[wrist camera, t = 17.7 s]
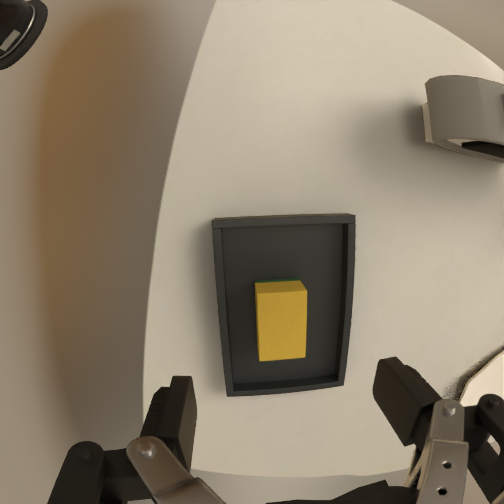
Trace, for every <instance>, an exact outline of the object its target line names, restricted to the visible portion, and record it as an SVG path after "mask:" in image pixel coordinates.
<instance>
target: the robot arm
mask: <svg viewBox="0 0 504 504" xmlns="http://www.w3.org/2000/svg"><path fill="white" fill-rule="evenodd" d="M36 17H37V10H36V8H35V7H33V6H32V5H31V4H28V3H27V2H26V1H25V0H0V60H2V59H4V58H6V57H8V56H9V55H10V54H12V53H13V52H14V51H15V50H16V49H17V48H18V47H19V46H20V45H21V44H22V43H23V41H24V40H25V39H26V37H27V36H28V34H29V33H30V31H31V29H32V28H33V25H34V23H35V20H36ZM373 396H374V399H375V401H376V402H377V404H378V405H379V407H380V409H381V410H382V412H383V413H384V415H385V416H386V418H387V420H388V421H389V423H390V424H391V426H392V428H393V429H394V431H395V432H396V434H397V435H398V437H399V439H400V440H401V442H402V443H403V445H404V447H405V446H408V445H411V444H415V445H416V448H415V450H414V453H413V457H412V460H411V464H410V467H409V471H408V474H407V477H406V481H405V483H404V486H388V484H387V482H386V480H383V481H379V482H376V483H372V484H369V485H366V486H362V487H358V488H357V489H354V490H352V491H350V492H348V493H346V494H344V495H342V496H339V497H337V498H335V499H332V500H291V501H282V502H272V503H266V504H462V502H463V496H464V489H465V482H466V473H467V468H468V469H469V471H470V472H471V474H472V475H473V477H474V479H475V480H476V482H477V484H478V485H479V487H480V488H481V490H482V492H483V493H484V495H485V496H486V498H487V500H488V501H489V503H490V504H504V400H503V399H502V398H501V397H500V396H498V395H495V394H485V395H483V396H481V397H480V399H479V401H478V403H477V405H473V406H465V407H463V406H462V404H461V403H460V402H458V401H456V400H453V399H442V398H441V397H440V396H439V394H438V393H437V392H436V391H435V390H434V389H433V388H432V387H431V386H430V385H429V384H428V382H427V383H426V380H425V379H424V378H423V377H421V375H420V374H419V373H418V372H417V371H416V370H415V369H413V368H412V367H410V366H408V365H404V364H403V363H402V362H401V361H400V360H399V359H398V358H397V357H390V358H385V359H381V360H379V362H378V365H377V370H376V375H375V379H374V384H373ZM196 420H197V405H196V399H195V393H194V387H193V381H192V377H191V376H173V377H172V381H171V384H170V387H161V388H160V389H159V390H158V391H157V392H156V393H155V394H154V395H153V398H152V401H151V404H150V407H149V411H148V413H147V416H146V419H145V422H144V425H143V428H142V431H141V434H140V437H139V438H136V439H134V440H132V441H131V442H130V443H129V444H128V446H127V448H124V449H119V450H109V451H103V449H102V448H101V446H100V445H98V444H96V443H94V442H90V441H83V442H79V443H77V444H75V445H73V446H72V447H71V448H70V449H69V451H68V454H67V456H66V458H65V460H64V463H63V465H62V467H61V470H60V473H59V475H58V477H57V480H56V482H55V485H54V487H53V490H52V493H51V495H50V498H49V501H48V503H47V504H127V501H134V500H142V499H151V500H152V502H153V503H154V504H226V503H225V502H224V501H223V500H222V499H221V498H220V497H219V496H218V495H217V494H216V493H215V492H214V491H213V490H212V489H211V488H210V487H209V486H208V485H207V484H206V483H205V482H204V481H203V480H202V479H200V478H198V477H197V478H194V477H193V476H192V475H191V474H190V469H191V460H192V452H193V443H194V435H195V427H196ZM490 435H492V437H493V438H494V439H495V440H496V441H497V442H498V444H499V446H500V454H499V456H498V454H497V453H496V452H495V450H494V449H493V448H492V446H491V445H490V444H489V443H488V441H487V440H488V438H489V437H490Z"/></svg>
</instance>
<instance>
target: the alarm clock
mask: <svg viewBox="0 0 504 504" xmlns="http://www.w3.org/2000/svg"><path fill="white" fill-rule="evenodd" d="M425 87H426V93H427V100H428V103H426V104H423V105H422V109H423V118H424V127H425V139H426V142H429V143H435V144H437V145H439V146H441V147H443V148H446V149H449V150H452V151H456V152H459V153H463V154H467V155H471V156H475V157H480V158H484V159H489V160H493V161H498V162H503V163H504V85H503V84H501V83H498V82H494V81H490V80H486V79H482V78H477V77H469V76H460V75H448V76H438V77H434V78H431V79H429V80H428V81H427V82H426V83H425Z"/></svg>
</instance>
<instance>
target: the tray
mask: <svg viewBox="0 0 504 504" xmlns="http://www.w3.org/2000/svg"><path fill="white" fill-rule="evenodd" d="M212 228H213V229H212V230H213V246H214V261H215V275H216V288H217V301H218V313H219V324H220V335H221V346H222V356H223V366H224V375H225V384H226V393H227V397H233V396H254V395H269V394H281V393H291V392H301V391H309V390H317V389H324V388H331V387H338V386H343V385H344V379H345V372H346V364H347V356H348V347H349V338H350V328H351V316H352V303H353V288H354V268H355V228H356V224H355V215H352V214H348V213H346V214H301V215H272V216H248V217H227V218H214V219H213V220H212ZM292 278H299V280H300V281H301V283H302V284H303V285H304V287H305V288H306V290H307V325H306V354H305V357H304V358H294V359H283V360H271V361H259V355H258V347H257V334H256V311H255V287H254V281H259V280H276V279H292Z"/></svg>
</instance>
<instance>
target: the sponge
mask: <svg viewBox="0 0 504 504" xmlns="http://www.w3.org/2000/svg"><path fill="white" fill-rule="evenodd" d="M254 287H255V311H256V334H257V347H258V355H259V361H271V360H283V359H294V358H304V357H305V354H306V325H307V290H306V288H305V287H304V285H303V284H302V283H301V281H300V280H299V278H292V279H276V280H259V281H254Z"/></svg>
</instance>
